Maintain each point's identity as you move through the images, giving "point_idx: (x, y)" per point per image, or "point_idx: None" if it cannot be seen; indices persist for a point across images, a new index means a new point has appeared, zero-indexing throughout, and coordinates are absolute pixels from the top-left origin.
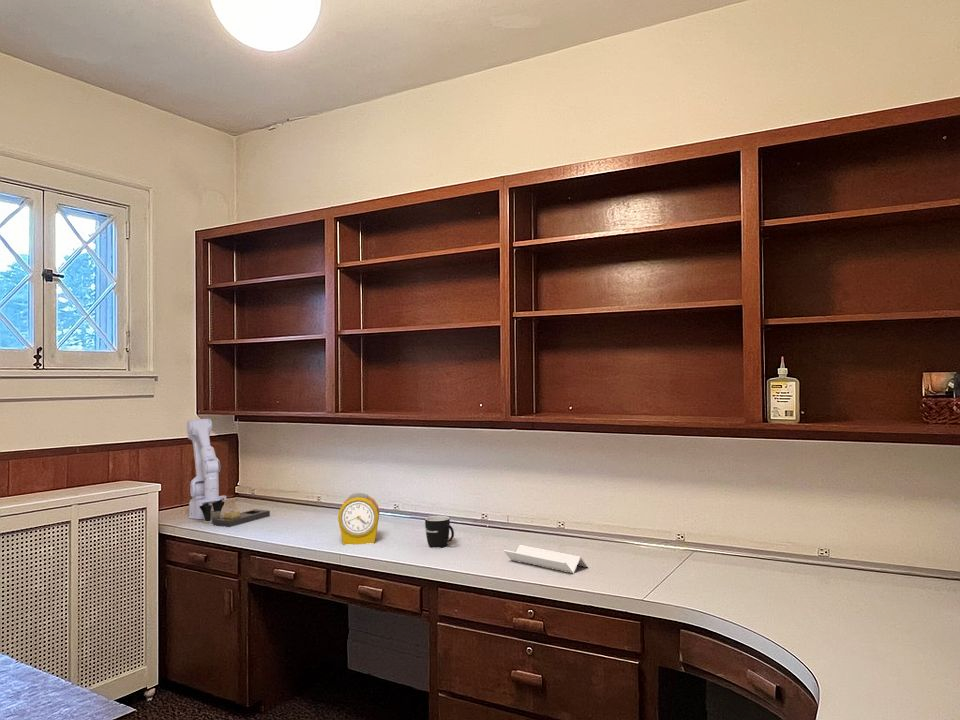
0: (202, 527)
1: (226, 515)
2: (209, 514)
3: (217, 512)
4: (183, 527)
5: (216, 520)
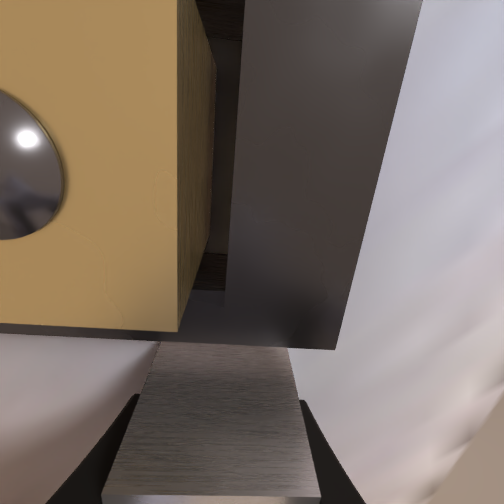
0: (430, 337)
1: (190, 222)
2: (332, 487)
3: (173, 474)
4: (440, 469)
5: (345, 288)
